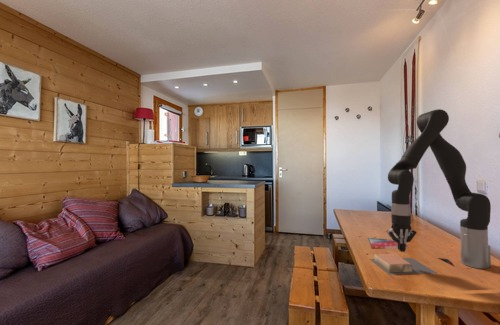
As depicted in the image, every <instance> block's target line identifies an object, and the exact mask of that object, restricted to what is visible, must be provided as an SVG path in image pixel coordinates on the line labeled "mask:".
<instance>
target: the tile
mask: <svg viewBox="0 0 500 325" xmlns="http://www.w3.org/2000/svg"><path fill="white" fill-rule="evenodd" d="M402 258H403V257H401V256H399V255H397V254H396V253H380V254H379V253H376V254H373V259H374V261H375V262H377V263H378V264H379V265H380V266H382V267H383V268H384V269H386V270H387V271H388V272H412V264H410V263H409V262H407V261H405V260H404V259H402Z"/></svg>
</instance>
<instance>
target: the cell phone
mask: <svg viewBox="0 0 500 325" xmlns="http://www.w3.org/2000/svg"><path fill="white" fill-rule="evenodd" d="M437 259H438V260H441V261H442V262H444V263H446V264H448V265H450V266H452V267H454V263H452V262H451V261H450V260H449V259H447V258H440V257H439V258H438V257H437Z"/></svg>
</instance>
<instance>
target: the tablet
mask: <svg viewBox="0 0 500 325" xmlns="http://www.w3.org/2000/svg"><path fill="white" fill-rule="evenodd" d="M367 238H368V242H369V245H370V247H371V250H385V249H387V250H388V249H398V243H397V242H395V241H393V239H387V238H375V237H367ZM406 249H409V246H408V245H407V244H406Z"/></svg>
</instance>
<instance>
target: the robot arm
mask: <svg viewBox="0 0 500 325" xmlns="http://www.w3.org/2000/svg"><path fill="white" fill-rule="evenodd" d="M449 121H450V117H449V114H448V112H447V111H446V110H444V109H441V108H439V109H433V110H430V111H426V112H424V113H421V114H420V115H418V116H417V118H416V126H417V128H418V130H419V131H420V134H419V136H418V137H417V138H415V140H414V141H412V142H411V144H409V145H408V147H407V148H406V149H405V151H404V153H403V154H402V156H401V158H400V160H398V161H397V162H396V163H395V164H394V166H392V167H391V169H390V170H389V172H388V174H387V180H388V182H389V183H390V184H392V185H398V186H397V189H394V190H392V191H391V208H390V209H391V210H390V211H391V212H390V213H391V215H390V216H391V218H390V219H391V227H390V229H388V230H386V232H385V233H387V235H389V237H390V239H391V240H393V241H395V242H397V243H398V248H397V250H398V251H400V252H402V253H405V252H406V250H407V248H406V245H407V243H411V241H412V240H413V239H414V237H415V236H416V234H417V233H418V232H417V231H416V230H414V229H413V228H412V226H411V225H412V208H411V196H410V195H411V192H412V189H413V186H414V180H415V178H414V174H413V173H412V171H410V170H415V169H416V168H418V167H417V166H418V165H419V163H420V161H421V160H422V158H423V156H424V155H425V153H426V152H427V150H428V149H429V148H430V150H431V152H432V154H433V155H434V157H435V159H436V162H437V164H438V166H439V168H440V170H441V172H442V174H443V175H444V178H445V180H446V182H447V184H448V187H449V189H450V192H451V195H452V199H453V200H454V203H455V205H456V206H457V208H459V210H461V211H464V212H467V217H466V218H462V219H460V221H459V227H460V228H459V229H460V231H459V232H460V261H461V264H463V265H465V266H468V267H471V268H475V269H483V270H485V269H488V268H491V267H492V265H491V264H492V263H491V262H492V259H491V258H492V257H491V255H492V254H491V245H490V244H489V229H488V227H489V225H490V223H491V209H492V208H491V201H490V199H489V197H488V196H487V195H485V194H484V193H483V194H482V193H478V192H472V191H471V190H470V188H469V186H468V185H467V184H468V183H467V182H466V173H467V164H466V161H465V160H464V157H463V156H462V153H461V152H460V150H459V149H458V148H456V147H455V146H453V144H451V143H449V142H448V141H447V140H446V139H445V138H444V137H443V136H442V134H441V132H442V131H443V130H444V129H445V128H446V127H447V125H448V123H449Z"/></svg>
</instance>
